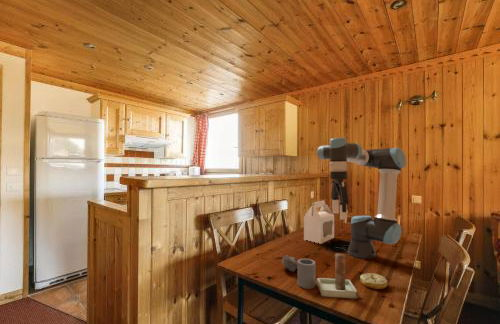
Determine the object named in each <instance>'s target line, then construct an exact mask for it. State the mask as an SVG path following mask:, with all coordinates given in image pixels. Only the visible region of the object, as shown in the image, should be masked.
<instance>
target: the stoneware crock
mask: <svg viewBox="0 0 500 324" xmlns="http://www.w3.org/2000/svg"><path fill="white" fill-rule="evenodd" d="M296 262H297V269H296V270H297V271H296V272H297V276H296V277H297V280H296V282H297V285H298V286H299V287H300V288H302V289H314V288H315V287H316V261H315V260H313V259H310V258H299V259H298V260H297V261H296Z"/></svg>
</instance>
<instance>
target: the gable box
mask: <svg viewBox="0 0 500 324" xmlns="http://www.w3.org/2000/svg"><path fill="white" fill-rule="evenodd" d="M311 204H312V206H310V208H309V209H308V210H307V212H305V215H304V216H303V240H304V241H306V240H308V241H307V242H310V241H311V242H310V243H314V242H315V244H318V243H319V245H322V244H324V243H326V242H328V241H330V240H332V239H334V238H335V213H333V210H331V208H330V207H329V205H328V204H327V203H326V201H325V200H324V199H322V200H317V201H313V203H311ZM318 208H319V210H318Z"/></svg>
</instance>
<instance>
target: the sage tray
mask: <svg viewBox="0 0 500 324" xmlns="http://www.w3.org/2000/svg"><path fill="white" fill-rule="evenodd" d="M316 284H317V286H318V289H319V292H320V295H321V297H327V298H328V297H329V298H344V299H345V298H346V299H358V297H359V294H358V293H359V292H358V291H357V289H356V287H355V286H354V284H353V283H352V282H351V279H345V290H337V289H336V288H335V278H326V277H317V279H316Z"/></svg>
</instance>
